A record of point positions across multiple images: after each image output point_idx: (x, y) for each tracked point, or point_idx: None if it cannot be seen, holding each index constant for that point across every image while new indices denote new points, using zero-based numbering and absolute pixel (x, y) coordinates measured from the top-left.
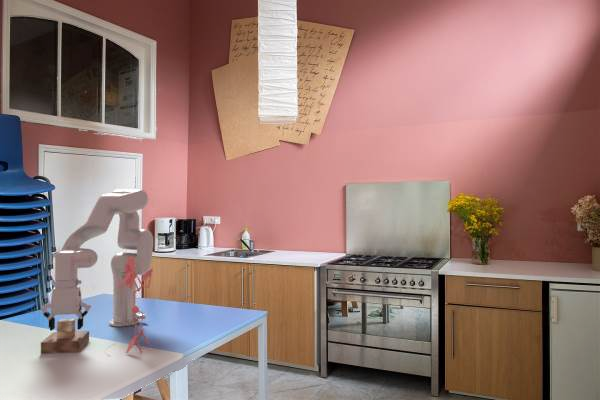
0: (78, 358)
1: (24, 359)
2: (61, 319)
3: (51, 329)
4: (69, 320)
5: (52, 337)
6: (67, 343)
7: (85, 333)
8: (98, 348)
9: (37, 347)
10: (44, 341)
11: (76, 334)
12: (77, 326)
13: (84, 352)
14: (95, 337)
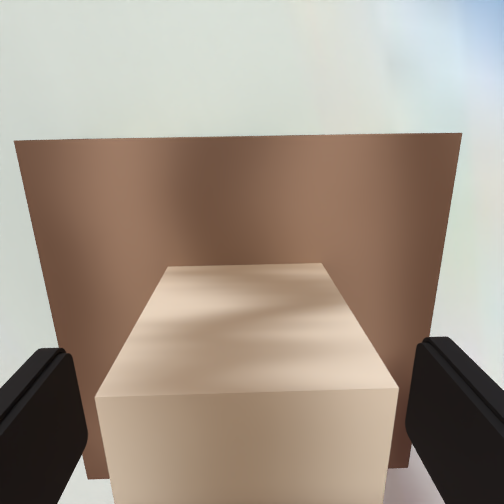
0: (392, 495)
1: (72, 486)
2: (116, 431)
3: (76, 447)
4: (311, 499)
5: (116, 353)
6: None
7: (431, 250)
8: (497, 341)
9: (9, 270)
10: (103, 456)
11: (337, 275)
12: (422, 461)
13: None
14: (451, 5)
